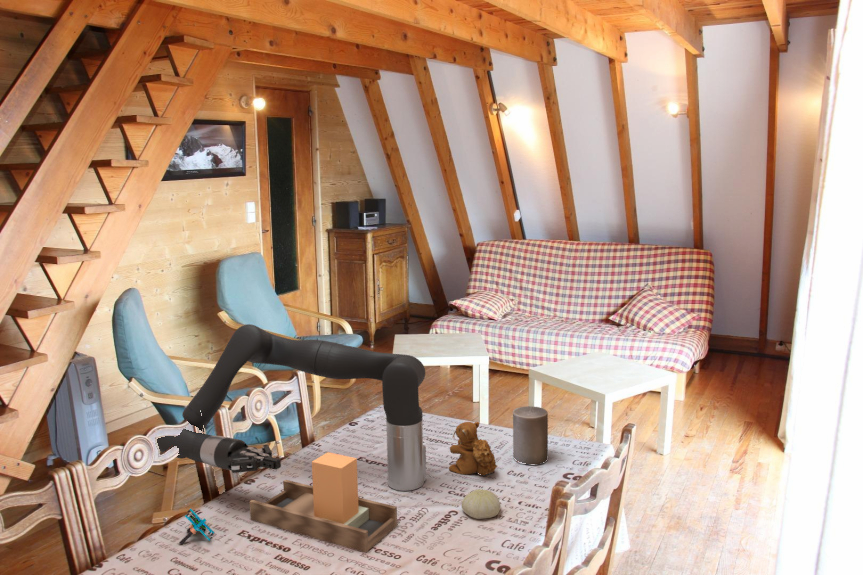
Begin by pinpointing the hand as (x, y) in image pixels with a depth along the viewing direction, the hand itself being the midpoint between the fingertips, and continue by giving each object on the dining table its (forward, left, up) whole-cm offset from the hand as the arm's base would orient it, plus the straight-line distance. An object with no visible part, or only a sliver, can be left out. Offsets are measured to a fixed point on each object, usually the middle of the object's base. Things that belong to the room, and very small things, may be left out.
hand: (278, 464), depth 165 cm
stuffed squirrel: (-48, +20, -12) cm, 53 cm away
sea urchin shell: (-31, +36, -12) cm, 49 cm away
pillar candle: (-64, +27, -12) cm, 71 cm away
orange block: (-4, +16, -9) cm, 19 cm away
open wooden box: (-3, +12, -12) cm, 17 cm away
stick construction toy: (+20, -5, -12) cm, 24 cm away
